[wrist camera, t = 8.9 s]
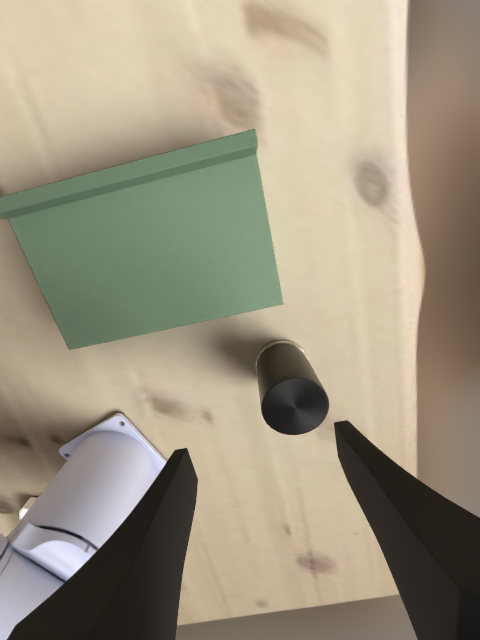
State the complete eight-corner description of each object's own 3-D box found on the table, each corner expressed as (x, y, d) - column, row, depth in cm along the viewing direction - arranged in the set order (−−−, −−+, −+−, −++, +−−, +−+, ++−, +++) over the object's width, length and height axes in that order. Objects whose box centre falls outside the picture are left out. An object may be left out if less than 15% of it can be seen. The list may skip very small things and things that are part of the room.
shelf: (277, 295, 20) (287, 310, 16) (91, 335, 21) (54, 359, 17) (252, 155, 17) (255, 127, 13) (38, 211, 18) (-24, 202, 14)
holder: (316, 371, 22) (342, 416, 16) (272, 395, 23) (282, 446, 17) (291, 330, 21) (309, 363, 15) (245, 357, 22) (246, 398, 16)
